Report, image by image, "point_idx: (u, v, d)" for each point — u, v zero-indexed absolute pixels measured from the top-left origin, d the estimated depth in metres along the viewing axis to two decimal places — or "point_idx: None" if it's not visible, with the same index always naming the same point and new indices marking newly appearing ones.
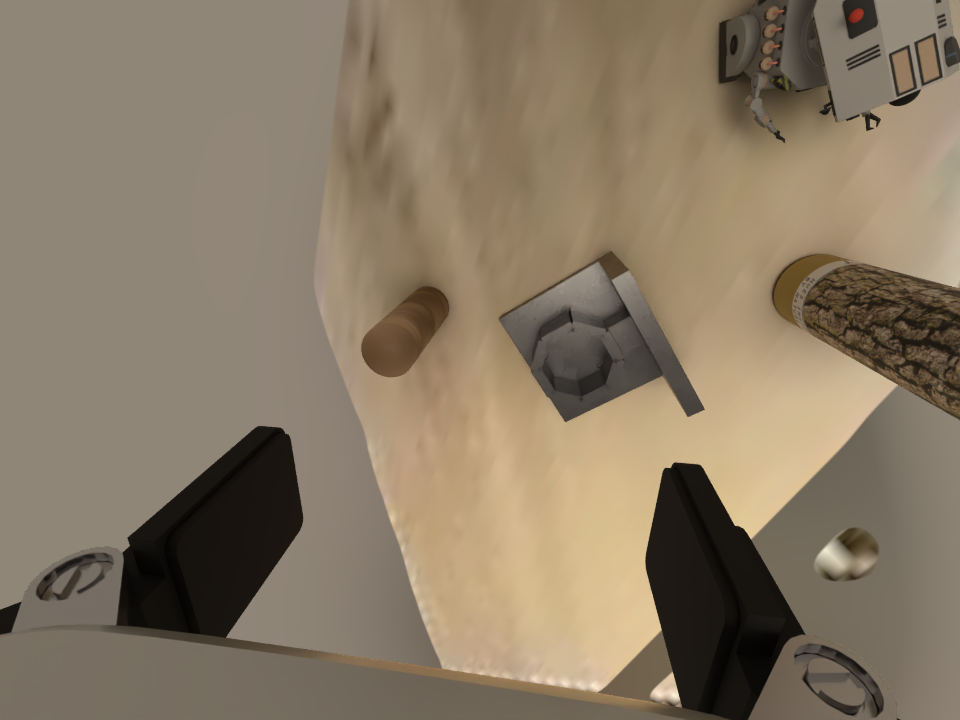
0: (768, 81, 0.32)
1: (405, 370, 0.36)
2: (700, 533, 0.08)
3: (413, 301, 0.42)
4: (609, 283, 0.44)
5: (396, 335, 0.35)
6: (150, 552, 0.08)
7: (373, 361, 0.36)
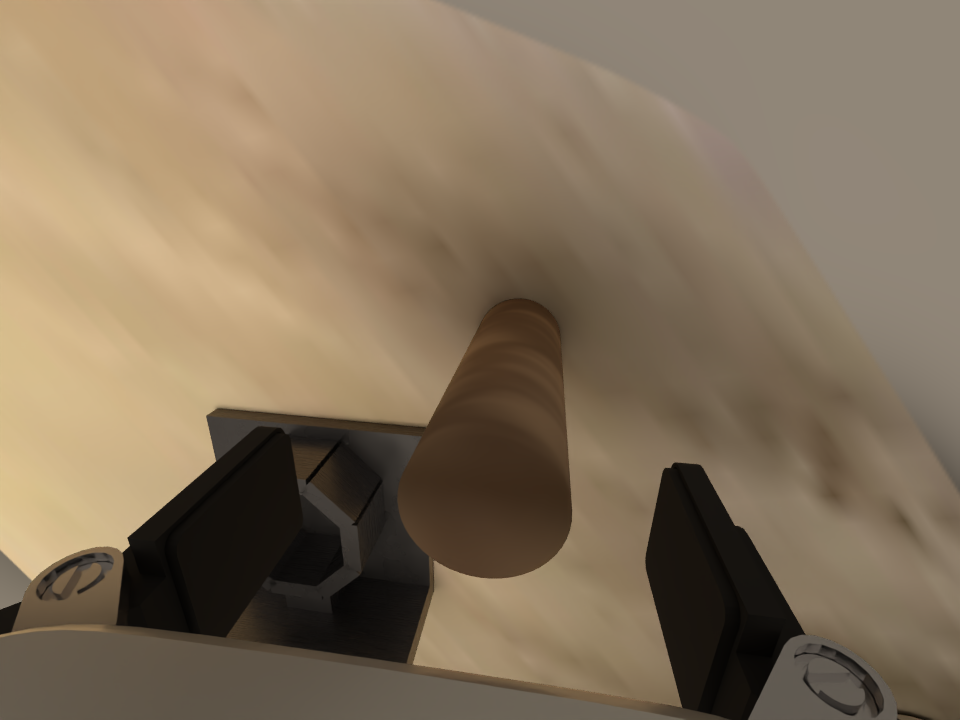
0: None
1: (404, 510, 0.12)
2: (700, 533, 0.08)
3: None
4: (394, 579, 0.30)
5: (510, 561, 0.12)
6: (150, 552, 0.08)
7: (482, 457, 0.11)
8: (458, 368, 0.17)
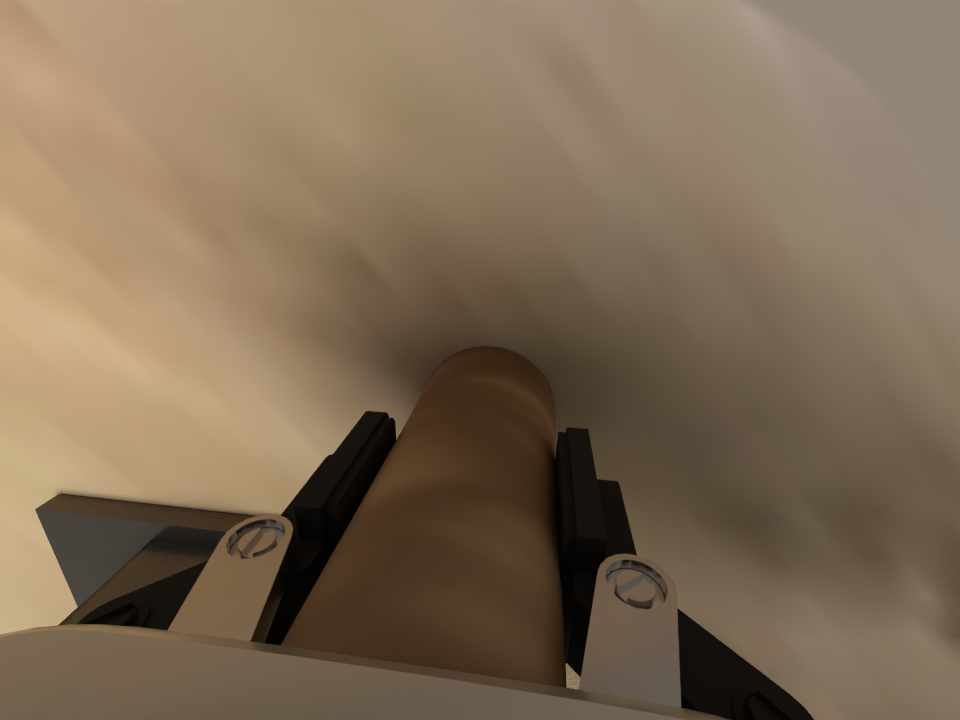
0: None
1: None
2: (566, 481, 0.09)
3: None
4: None
5: None
6: (313, 519, 0.08)
7: None
8: (339, 544, 0.08)
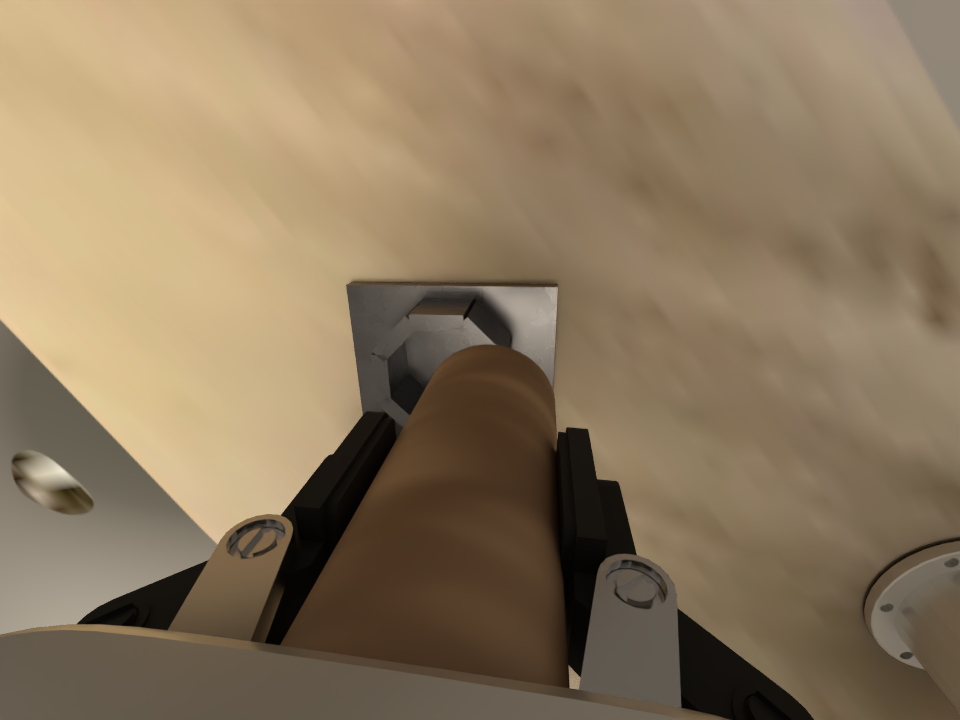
0: None
1: None
2: (566, 480, 0.09)
3: None
4: None
5: None
6: (313, 518, 0.08)
7: None
8: (340, 540, 0.08)
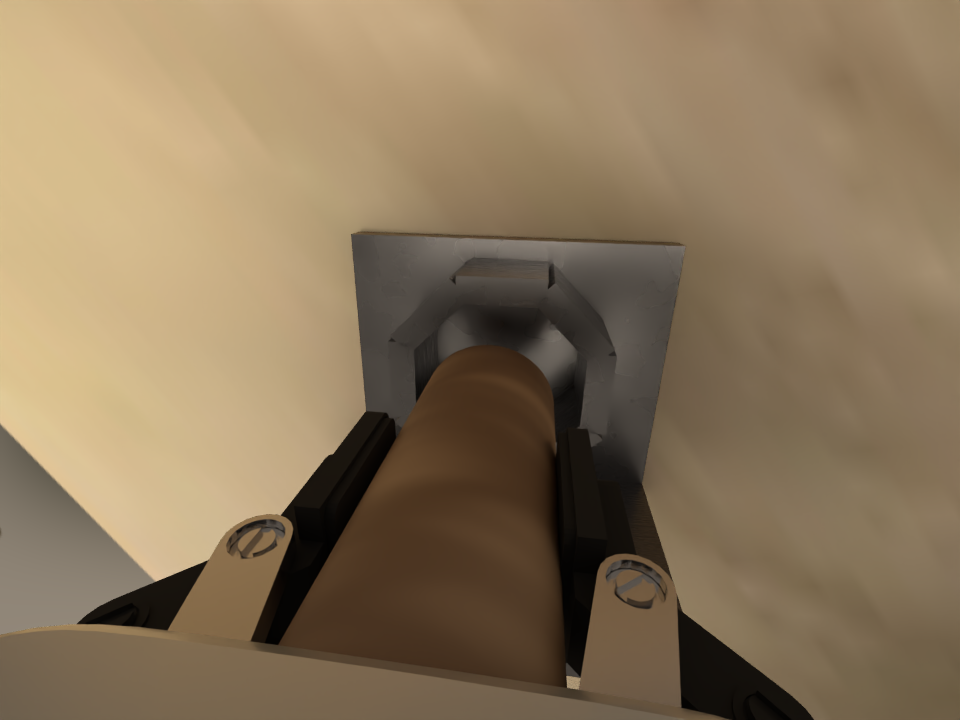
0: None
1: None
2: (566, 481, 0.09)
3: None
4: None
5: None
6: (312, 519, 0.08)
7: None
8: (338, 541, 0.08)
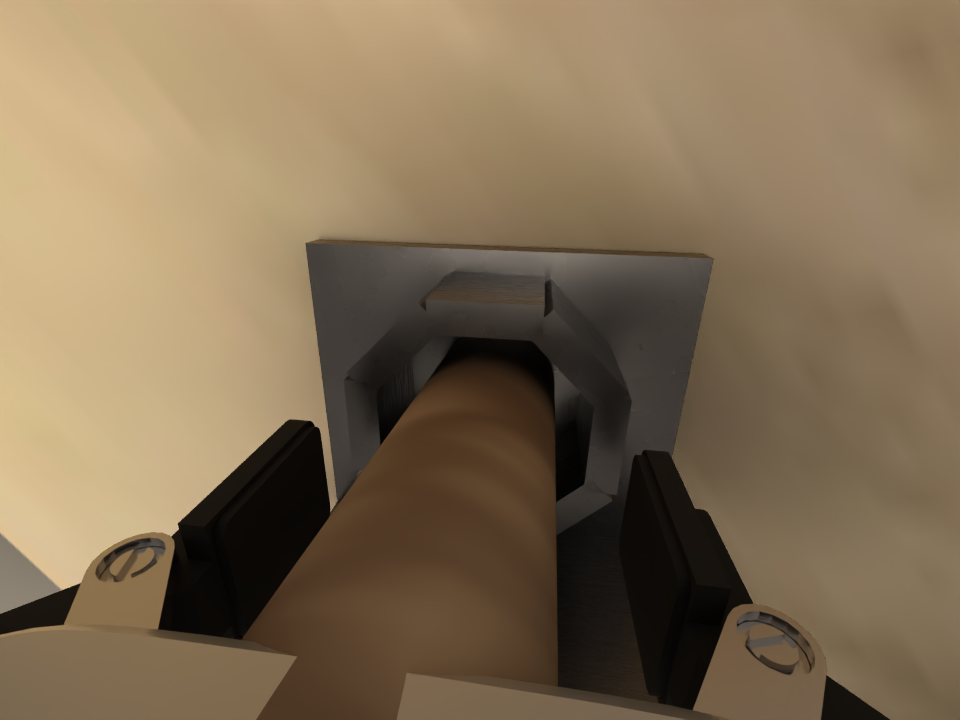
0: None
1: None
2: (661, 513, 0.08)
3: None
4: (595, 526, 0.19)
5: None
6: (199, 537, 0.08)
7: None
8: None
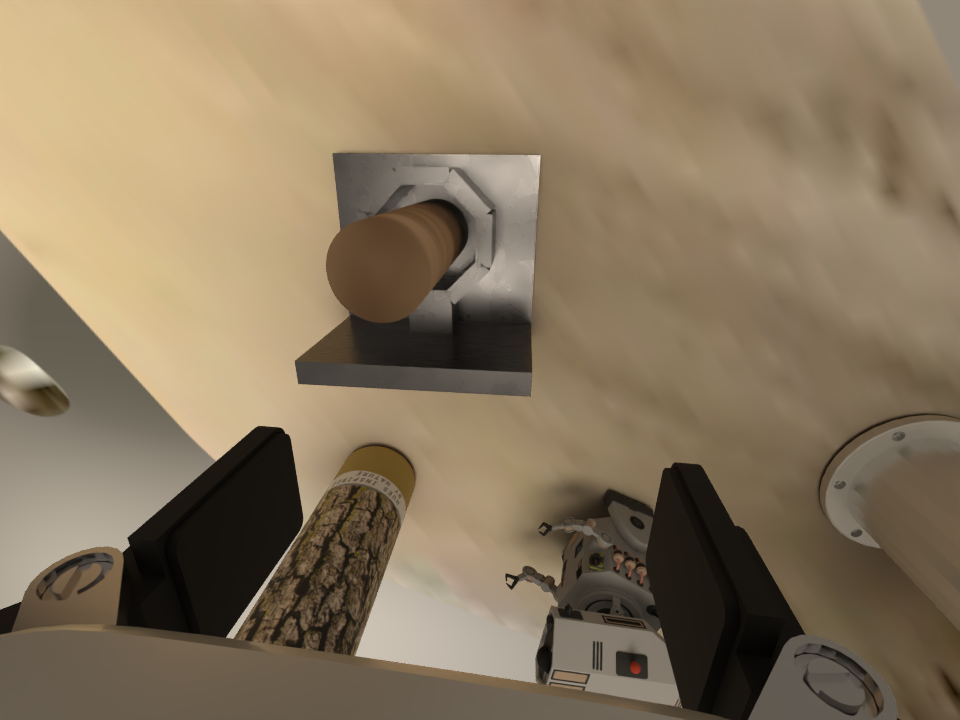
0: (600, 547, 0.34)
1: (331, 278, 0.19)
2: (700, 533, 0.08)
3: None
4: (497, 320, 0.34)
5: (397, 308, 0.19)
6: (150, 552, 0.08)
7: (373, 235, 0.18)
8: None
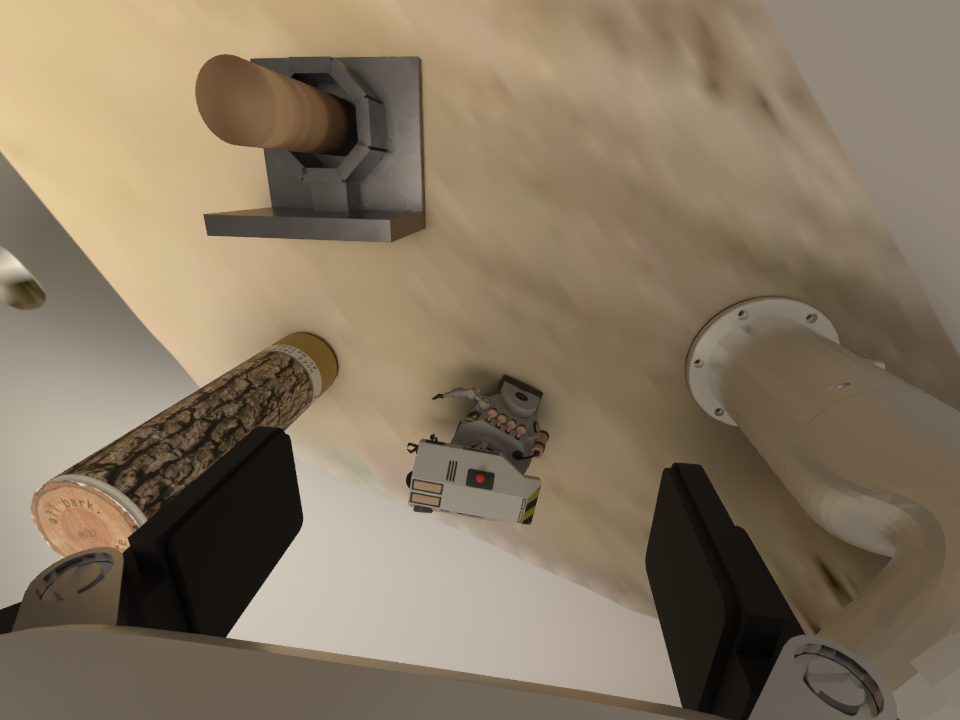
0: (480, 408, 0.40)
1: (200, 107, 0.25)
2: (700, 533, 0.08)
3: (328, 138, 0.32)
4: (394, 209, 0.40)
5: (250, 132, 0.25)
6: (150, 552, 0.08)
7: (226, 68, 0.24)
8: None
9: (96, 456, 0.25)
